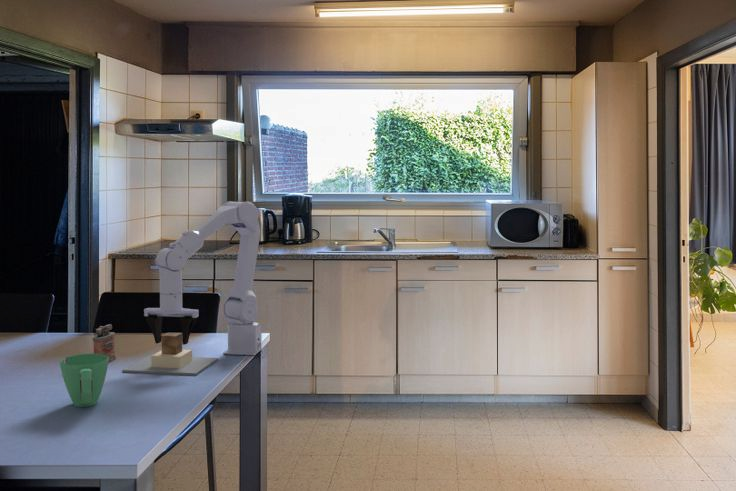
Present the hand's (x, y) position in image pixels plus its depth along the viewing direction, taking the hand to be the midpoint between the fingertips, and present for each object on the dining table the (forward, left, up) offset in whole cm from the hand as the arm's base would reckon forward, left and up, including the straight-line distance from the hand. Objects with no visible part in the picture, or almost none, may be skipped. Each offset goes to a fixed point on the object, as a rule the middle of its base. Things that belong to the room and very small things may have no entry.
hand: (171, 343), depth 178 cm
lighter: (+20, -1, -6) cm, 21 cm away
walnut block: (0, 0, -3) cm, 3 cm away
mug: (+4, +35, -6) cm, 36 cm away
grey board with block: (0, 0, -6) cm, 6 cm away
